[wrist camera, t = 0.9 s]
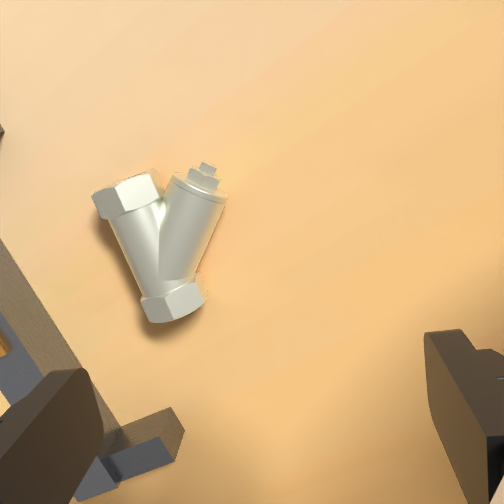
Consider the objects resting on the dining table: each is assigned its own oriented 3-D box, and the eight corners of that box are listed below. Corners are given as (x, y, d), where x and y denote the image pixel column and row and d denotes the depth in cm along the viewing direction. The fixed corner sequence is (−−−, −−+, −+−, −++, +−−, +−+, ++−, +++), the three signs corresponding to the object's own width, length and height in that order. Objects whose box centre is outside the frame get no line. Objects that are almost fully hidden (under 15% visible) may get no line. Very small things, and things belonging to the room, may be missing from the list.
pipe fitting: (212, 145, 28) (106, 186, 28) (205, 149, 24) (83, 196, 24) (260, 269, 30) (160, 305, 30) (261, 291, 26) (146, 331, 26)
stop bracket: (-16, 98, 27) (-64, 96, 23) (184, 430, 32) (171, 471, 29) (-108, 153, 28) (-168, 160, 25) (99, 463, 34) (75, 507, 30)
